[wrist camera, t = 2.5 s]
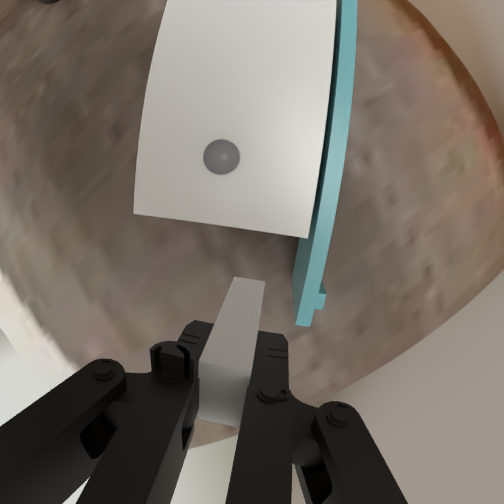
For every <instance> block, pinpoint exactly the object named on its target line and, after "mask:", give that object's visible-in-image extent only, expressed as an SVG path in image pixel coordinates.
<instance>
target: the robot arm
mask: <svg viewBox="0 0 504 504" xmlns="http://www.w3.org/2000/svg"><path fill="white" fill-rule="evenodd" d="M39 1H41V2H43V3H52V2H55V1H58V0H39ZM264 287H265V281H259V280H253V279H247V278H240V277H234V279H233V281H232V284H231V286H230V288H229V291H228V293H227V295H226V298H225V300H224V302H223V305H222V307H221V310H220V312H219V314H218V317H217V319H216V321H215V324H212V323H207V322H202V321H197V320H194V321H193V322H191V323H189V324H188V325H186V327H185V328H184V330H183V332H182V335H180V337H179V339H178V341H177V342H176V341H165V342H160V343H158V344H155V345H154V346H153V347H152V348H150V357H151V368H152V371H151V372H149V373H126V372H125V370H124V368H123V366H122V365H121V364H120V363H119V362H117V361H115V360H112V359H104V358H103V359H97V360H94V361H92V362H90V363H89V364H87V365H86V366H84V367H83V368H82V369H80V370H79V371H77V372H76V373H74V374H73V375H72V376H70V377H69V378H67V379H66V380H65V381H63V382H62V383H60V384H59V385H58V386H56V387H55V388H53V389H52V390H51V391H49V392H48V393H46V394H45V395H44V396H42V397H41V398H39V399H38V400H37V401H35V402H34V403H32V404H31V405H30V406H28V407H27V408H26V409H24V410H23V411H21V412H20V413H18V414H17V415H16V416H14V417H13V418H12V419H10V420H9V421H7V422H6V423H5V424H3V425H2V426H0V504H62V503H63V502H64V501H66V500H67V499H68V498H69V497H70V496H71V495H72V494H73V493H74V492H75V491H76V490H77V489H78V488H79V487H80V486H81V485H82V484H83V483H84V482H85V481H86V480H87V479H88V478H89V477H90V478H89V480H88V482H87V484H86V485H85V487H84V489H83V491H82V493H81V495H80V497H79V498H78V500H77V502H76V504H170V502H171V499H172V496H173V493H174V490H175V487H176V484H177V481H178V478H179V475H180V472H181V469H182V466H183V463H184V460H185V457H186V454H187V451H188V448H189V445H190V442H191V438H192V435H193V432H194V421H195V418H196V415H197V412H198V417H197V419H201V420H205V421H210V422H215V423H220V424H225V425H231V426H237V427H240V430H239V435H238V440H237V445H236V451H235V456H234V461H233V467H232V472H231V477H230V482H229V487H228V493H227V497H226V502H225V504H291V493H292V463H293V464H294V465H295V469H296V472H297V475H298V479H299V482H300V485H301V489H302V492H303V495H304V498H305V502H306V504H408V503H407V501H406V499H405V497H404V495H403V494H402V492H401V490H400V488H399V486H398V484H397V482H396V481H395V479H394V477H393V475H392V473H391V471H390V469H389V468H388V466H387V464H386V462H385V460H384V458H383V457H382V455H381V453H380V451H379V449H378V447H377V446H376V444H375V442H374V440H373V438H372V437H371V435H370V433H369V431H368V429H367V428H366V426H365V424H364V422H363V420H362V418H361V417H360V415H359V413H358V412H357V411H356V410H355V408H353V407H352V406H350V405H348V404H346V403H343V402H338V401H331V402H327V403H324V404H323V405H321V406H320V407H319V408H316V407H313V406H310V405H307V404H305V403H303V402H301V401H299V400H298V399H296V398H295V397H294V396H293V395H292V393H291V391H290V390H289V371H288V341H287V340H286V338H285V337H284V335H283V334H277V333H271V332H264V331H258V327H259V321H260V314H261V307H262V301H263V294H264Z"/></svg>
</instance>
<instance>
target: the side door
mask: <svg viewBox="0 0 504 504" xmlns="http://www.w3.org/2000/svg"><path fill="white" fill-rule="evenodd" d="M356 32H357V0H337V1H336V20H335V36H334V49H333V61H332V72H331V82H330V91H329V101H328V109H327V118H326V126H325V133H324V141H323V148H322V155H321V162H320V169H319V175H318V182H317V188H316V194H315V200H314V206H313V212H312V218H311V223H310V229H309V234H308V239H307V238H301V237H299V243H298V248H297V253H296V259H295V264H294V269H293V275H292V289H293V301H294V314H295V325H300V326H308V327H310V324H311V320H312V316H313V313H314V309H321V310H323V306H324V302H325V298H326V291H325V288H324V285H323V282H322V276H323V271H324V267H325V263H326V258H327V253H328V249H329V244H330V239H331V234H332V229H333V224H334V219H335V214H336V208H337V203H338V197H339V191H340V185H341V179H342V173H343V166H344V159H345V152H346V145H347V138H348V130H349V122H350V113H351V103H352V93H353V82H354V69H355V53H356Z"/></svg>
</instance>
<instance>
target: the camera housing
mask: <svg viewBox="0 0 504 504" xmlns="http://www.w3.org/2000/svg"><path fill="white" fill-rule="evenodd" d="M336 1H337V0H168V1H167V4H166V8H165V11H164V15H163V18H162V22H161V25H160V29H159V33H158V37H157V41H156V45H155V49H154V53H153V58H152V62H151V67H150V72H149V77H148V82H147V88H146V94H145V100H144V106H143V112H142V119H141V127H140V135H139V143H138V153H137V164H136V176H135V191H134V213H133V214H139V215H147V216H155V217H163V218H170V219H178V220H185V221H193V222H200V223H207V224H214V225H221V226H228V227H235V228H242V229H249V230H256V231H262V232H269V233H276V234H282V235H288V236H295V237H301V238H307V239H308V234H309V229H310V223H311V218H312V212H313V206H314V200H315V194H316V188H317V182H318V175H319V169H320V162H321V155H322V148H323V141H324V133H325V126H326V118H327V109H328V101H329V91H330V82H331V72H332V61H333V49H334V36H335V20H336Z"/></svg>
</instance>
